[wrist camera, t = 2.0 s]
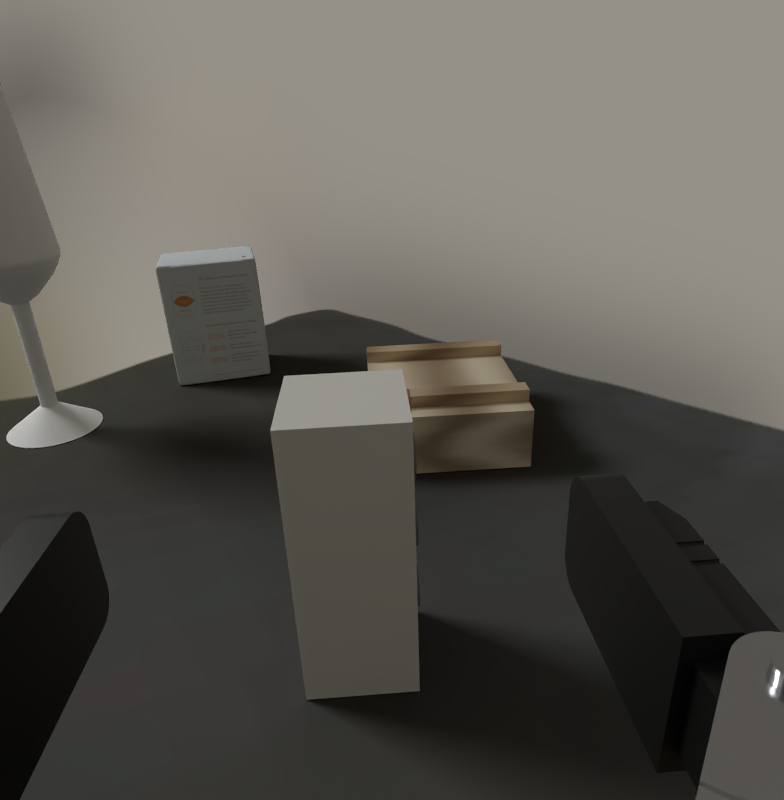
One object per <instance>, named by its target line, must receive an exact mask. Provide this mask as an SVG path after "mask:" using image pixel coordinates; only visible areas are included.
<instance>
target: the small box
mask: <svg viewBox="0 0 784 800" xmlns="http://www.w3.org/2000/svg"><path fill="white" fill-rule="evenodd" d="M156 275H157V279H158V284H159V288H160V293H161V298H162V303H163V308H164V313H165V317H166V322H167V327H168V332H169V337H170V341H171V346H172V351H173V356H174V360H175V365H176V370H177V375H178V380H179V384H180V385H181V386H184V385H191V384H198V383H206V382H213V381H220V380H228V379H235V378H243V377H251V376H258V375H265V374H270V372H271V370H270V362H269V354H268V347H267V340H266V332H265V325H264V318H263V311H262V304H261V297H260V290H259V283H258V276H257V270H256V263H255V259H254V256H253V253H252V249H251V246H243V247H233V248H222V249H210V250H200V251H188V252H177V253H167V254H162V255H161V257H160V259H159V262H158V264H157V266H156Z"/></svg>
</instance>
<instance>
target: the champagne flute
mask: <svg viewBox="0 0 784 800" xmlns="http://www.w3.org/2000/svg"><path fill="white" fill-rule="evenodd" d="M59 257H60V247H59V245H58V242H57V239H56V236H55V234H54V231H53V228H52V225H51V223H50V220H49V217H48V215H47V212H46V209H45V206H44V203H43V200H42V198H41V195H40V192H39V189H38V187H37V184H36V181H35V178H34V176H33V173H32V170H31V167H30V164H29V162H28V159H27V156H26V153H25V151H24V148H23V145H22V142H21V140H20V137H19V134H18V131H17V128H16V126H15V123H14V120H13V117H12V115H11V112H10V109H9V107H8V104H7V101H6V98H5V96H4V93H3V90H2V87H1V84H0V302H3V303H6V304H9V305H10V306H11V309H12V312H13V316H14V319H15V323H16V326H17V329H18V333H19V335H20V339H21V342H22V346H23V349H24V352H25V356H26V359H27V362H28V366H29V369H30V372H31V375H32V379H33V382H34V385H35V389H36V392H37V395H38V399H39V402H40V406H39V407H38V408H37V409H36V410H34V411H33V412H32V413H31V414H29V415H28V416H27V417H26V418H24V419H23V420H22V421H21V422H20V423H18V424H17V425H16V426H15V427H13V428H12V429H11V430H10V431H9V433H8V434H7V441H8V443H10V444H11V445H13V446H16V447H22V448H40V447H48V446H54V445H58V444H62V443H66V442H69V441H72V440H75V439H77V438H80V437H82V436H84V435H86V434H88V433H90V432H91V431H93V430H94V429H96V428H97V427H98V426H99V425H100V424H101V422H102V420H103V416H102V414H101V413H100V412H99V411H97V410H94V409H90V408H85V407H81V406H76V405H72V404H67V403H62V402H58V401H57V397H56V394H55V390H54V387H53V383H52V380H51V376H50V373H49V370H48V366H47V363H46V359H45V356H44V352H43V349H42V345H41V342H40V338H39V335H38V331H37V328H36V325H35V321H34V318H33V314H32V311H31V307H30V304H29V301H31V300H32V299H33V298H34V297H36V296H37V295H38V294H39V293H40V291H41V290H42V288H43V287H44V286H45V284H46V283H47V282H48V280H49V279H50V277H51V276H52V275H53V273H54V271H55V269H56V266H57V264H58V261H59Z"/></svg>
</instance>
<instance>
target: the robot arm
mask: <svg viewBox="0 0 784 800" xmlns="http://www.w3.org/2000/svg"><path fill="white" fill-rule="evenodd" d="M565 563H566V571H567V576H568V581H569V584H570V587H571V590H572V592H573V594H574V597H575V599H576V601H577V603H578V605H579V607H580V609H581V612H582V614H583V616H584V618H585V620H586V622H587V624H588V626H589V629H590V631H591V633H592V635H593V637H594V639H595V641H596V644H597V646H598V648H599V650H600V652H601V654H602V656H603V659H604V661H605V663H606V665H607V667H608V669H609V671H610V673H611V676H612V678H613V680H614V682H615V684H616V686H617V688H618V691H619V693H620V695H621V697H622V699H623V701H624V703H625V706H626V708H627V710H628V712H629V714H630V716H631V718H632V720H633V723H634V725H635V727H636V729H637V731H638V733H639V735H640V738H641V740H642V742H643V744H644V746H645V748H646V750H647V753H648V755H649V757H650V759H651V761H652V763H653V765H654V767H655V770H656V772H657V773H660V772H671V771H682V770H687V772H688V774H689V776H690V777H691V779H692V781H693V783H694V785H695V787H696V789H697V791H696V796H695V800H784V633H782V632H780V631H779V630H778V628H777V627H776V626H775V625H774V624H773V622H772V621H771V620H770V619H769V618H768V616H767V615H766V614H765V613H764V612H763V610H762V609H761V608H760V607H759V606H758V604H757V603H756V602H755V601H754V600H753V599H752V597H751V596H750V595H749V594H748V593H747V591H746V590H745V589H744V588H743V587H742V585H741V584H740V583H739V582H738V581H737V579H736V578H735V577H734V576H733V575H732V573H731V572H730V571H729V570H728V569H727V568H726V566H725V565H724V564H720V562H719V558H718V557H717V556H716V554H715V553H714V552H713V551H712V550H711V548H710V547H709V546H708V545H704V540H703V539H702V538H701V536H700V535H699V534H698V533H697V532H696V531H695V529H694V528H693V527H692V526H691V525H690V523H689V522H688V521H687V520H686V519H685V518H684V517H682V516H681V515H679V514H677V513H676V512H674V511H673V510H671V509H669V508H668V507H666V506H665V505H663V504H661V503H660V502H658V501H649V502H644V501H643V499H642V498H641V497H640V495H639V494H638V493H637V492H636V490H635V489H634V488H633V486H632V485H631V484H630V482H629V481H628V480H627V478H626V477H625V476H624V475H622V474H620V473H617V474H603V475H589V476H577V477H575V478H574V479H573V480H572V483H571V489H570V499H569V512H568V524H567V536H566V548H565ZM108 609H109V591H108V586H107V582H106V579H105V575H104V572H103V569H102V565H101V562H100V559H99V555H98V552H97V549H96V545H95V542H94V538H93V535H92V532H91V528H90V525H89V522H88V520H87V518H86V517H85V515H84V514H83V513H81V512H63V513H50V514H36V515H30V516H28V517H26V518H25V519H24V520H23V521H22V522H21V523H20V525H19V526H18V527H17V528H16V530H15V531H14V532H13V533H12V534H11V536H10V537H9V538H8V539H7V540H6V542H5V543H4V544H3V545H2V547H1V548H0V800H20V798H21V796H22V794H23V791H24V789H25V787H26V785H27V783H28V781H29V779H30V777H31V775H32V773H33V771H34V769H35V767H36V765H37V763H38V761H39V759H40V757H41V755H42V753H43V751H44V749H45V746H46V744H47V742H48V740H49V738H50V736H51V734H52V732H53V730H54V728H55V726H56V724H57V722H58V720H59V718H60V716H61V714H62V712H63V710H64V708H65V706H66V703H67V701H68V699H69V697H70V695H71V693H72V691H73V689H74V687H75V685H76V683H77V681H78V679H79V677H80V675H81V673H82V671H83V669H84V667H85V665H86V663H87V661H88V658H89V656H90V654H91V652H92V650H93V648H94V646H95V644H96V642H97V640H98V638H99V636H100V634H101V632H102V630H103V628H104V625H105V623H106V620H107V615H108Z"/></svg>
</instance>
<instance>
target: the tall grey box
mask: <svg viewBox="0 0 784 800" xmlns="http://www.w3.org/2000/svg"><path fill="white" fill-rule="evenodd" d="M270 433H271V440H272V448H273V455H274V463H275V470H276V478H277V485H278V492H279V500H280V507H281V515H282V522H283V530H284V537H285V544H286V552H287V559H288V567H289V574H290V582H291V589H292V597H293V604H294V611H295V619H296V626H297V634H298V641H299V649H300V656H301V663H302V671H303V678H304V686H305V693H306V700H310V699H323V698H336V697H349V696H362V695H375V694H388V693H401V692H414V691H420V679H419V640H418V606H420V591H419V578H418V568H417V562H416V546H418V521H417V510H416V503H415V486H414V480H416V478H417V462H416V447H415V438H414V432H413V420H412V415H411V396H410V391H409V389H406V385H405V380H404V375H403V370H402V369H397V370H379V371H362V372H344V373H327V374H309V375H292V376H284V378H283V382H282V386H281V390H280V394H279V398H278V402H277V406H276V410H275V414H274V418H273V422H272V426H271V430H270Z"/></svg>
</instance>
